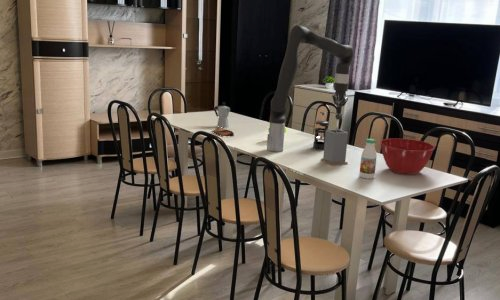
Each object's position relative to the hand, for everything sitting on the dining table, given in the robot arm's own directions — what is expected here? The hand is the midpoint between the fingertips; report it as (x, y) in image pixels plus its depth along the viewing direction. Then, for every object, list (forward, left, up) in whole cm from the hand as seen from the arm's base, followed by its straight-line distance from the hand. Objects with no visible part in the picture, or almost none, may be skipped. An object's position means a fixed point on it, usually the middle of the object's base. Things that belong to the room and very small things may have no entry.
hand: (338, 113), depth 285 cm
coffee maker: (-29, +107, -28) cm, 114 cm away
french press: (+11, +33, -28) cm, 45 cm away
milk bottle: (+1, -30, -28) cm, 41 cm away
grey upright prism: (0, 0, -28) cm, 28 cm away
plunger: (0, 0, -15) cm, 15 cm away
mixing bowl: (+29, -25, -28) cm, 48 cm away
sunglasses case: (-38, +83, -29) cm, 95 cm away
